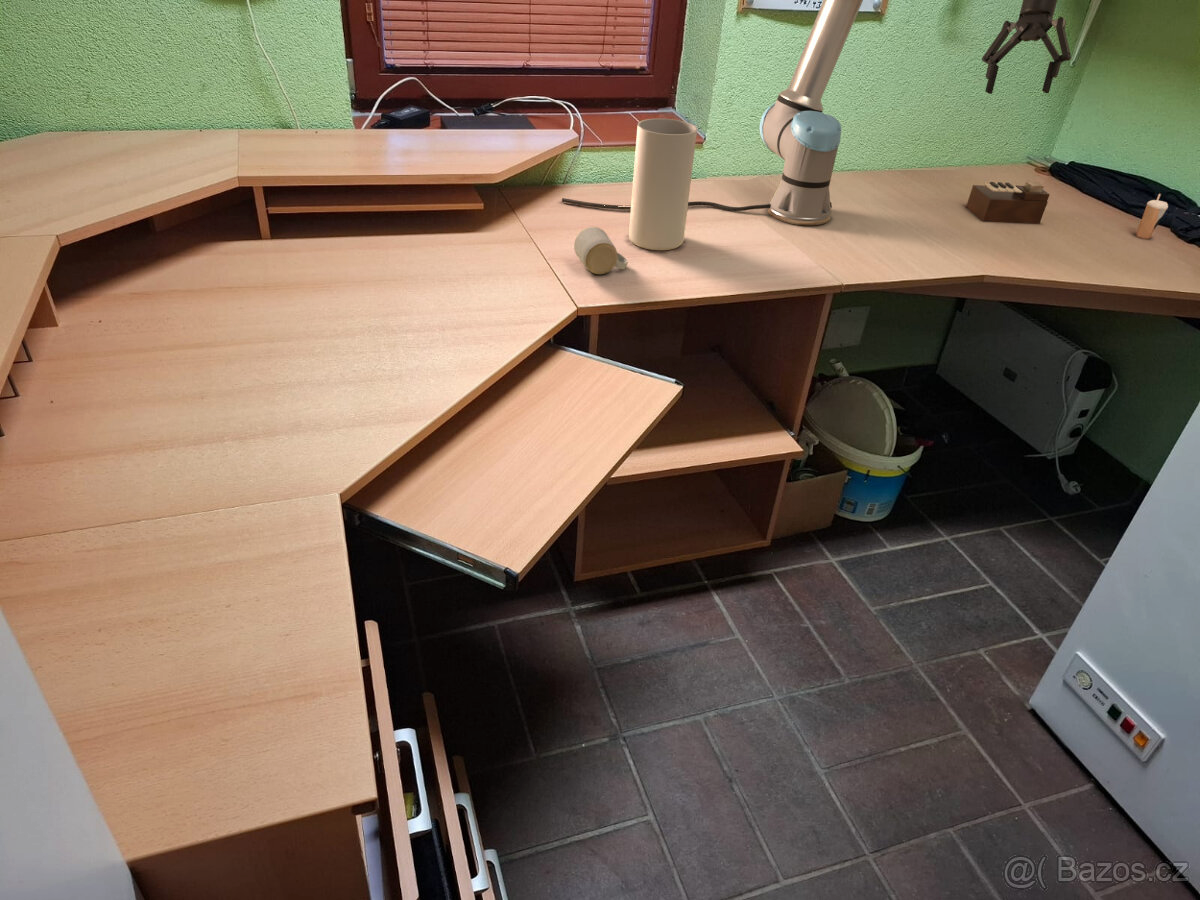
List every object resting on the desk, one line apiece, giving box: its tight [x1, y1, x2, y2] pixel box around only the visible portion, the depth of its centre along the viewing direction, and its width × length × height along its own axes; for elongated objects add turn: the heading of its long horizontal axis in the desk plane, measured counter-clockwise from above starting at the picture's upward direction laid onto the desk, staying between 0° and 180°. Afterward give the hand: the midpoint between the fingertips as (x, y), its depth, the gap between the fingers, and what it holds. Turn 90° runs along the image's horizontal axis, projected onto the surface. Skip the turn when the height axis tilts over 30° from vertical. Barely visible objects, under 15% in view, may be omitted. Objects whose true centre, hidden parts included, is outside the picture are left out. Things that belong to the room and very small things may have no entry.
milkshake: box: [1135, 193, 1169, 240], centre depth 203 cm, size 5×5×10 cm
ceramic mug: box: [573, 226, 629, 275], centre depth 168 cm, size 11×8×8 cm
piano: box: [965, 184, 1051, 225], centre depth 210 cm, size 15×11×8 cm
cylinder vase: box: [628, 118, 698, 251], centre depth 177 cm, size 12×12×25 cm
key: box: [1023, 181, 1045, 193], centre depth 206 cm, size 3×3×2 cm
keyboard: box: [983, 181, 1022, 193], centre depth 206 cm, size 8×5×1 cm
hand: (1016, 92), depth 201 cm, fingers open, 13 cm apart
